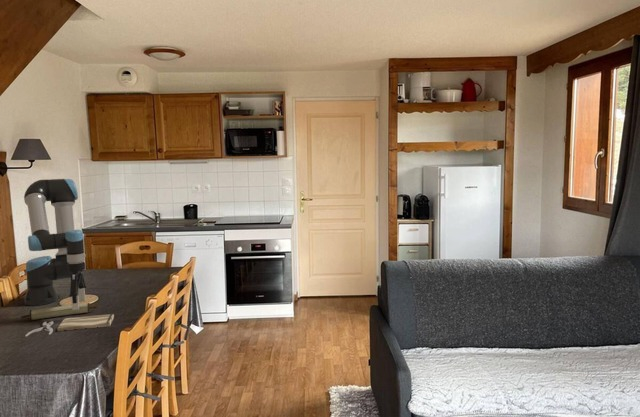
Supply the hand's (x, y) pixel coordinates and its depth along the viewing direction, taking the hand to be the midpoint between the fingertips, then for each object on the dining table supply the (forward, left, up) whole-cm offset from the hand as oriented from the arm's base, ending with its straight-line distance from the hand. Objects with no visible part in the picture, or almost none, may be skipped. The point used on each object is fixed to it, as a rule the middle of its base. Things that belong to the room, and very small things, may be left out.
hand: (79, 305), depth 225 cm
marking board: (+16, +6, -4) cm, 18 cm away
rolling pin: (+1, -8, -5) cm, 9 cm away
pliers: (+18, -11, -5) cm, 22 cm away
